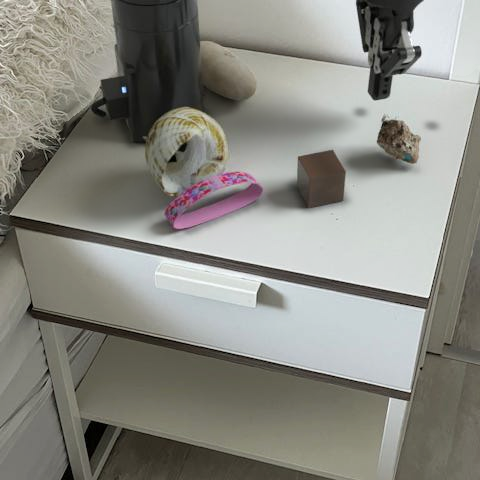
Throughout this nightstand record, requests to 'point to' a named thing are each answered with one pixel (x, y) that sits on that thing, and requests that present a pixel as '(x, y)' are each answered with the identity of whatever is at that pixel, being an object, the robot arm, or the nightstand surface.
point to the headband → (213, 210)
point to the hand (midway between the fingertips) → (378, 96)
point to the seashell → (185, 150)
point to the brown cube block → (320, 178)
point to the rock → (398, 140)
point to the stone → (225, 72)
